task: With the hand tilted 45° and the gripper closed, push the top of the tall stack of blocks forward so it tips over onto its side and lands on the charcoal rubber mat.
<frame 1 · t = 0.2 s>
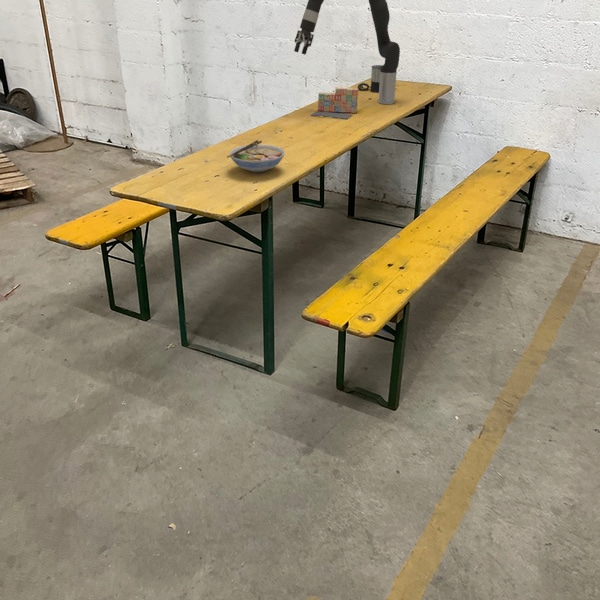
hand: (299, 53, 324), 31 cm above the table, tool tilted 20°, fingers open, 8 cm apart
charcoal rubber mat: (331, 115, 335), on the table
stack of blocks: (337, 111, 343), on the table, touching charcoal rubber mat
milk frother: (371, 91, 391), on the table
ramen bowl: (257, 170, 258), on the table
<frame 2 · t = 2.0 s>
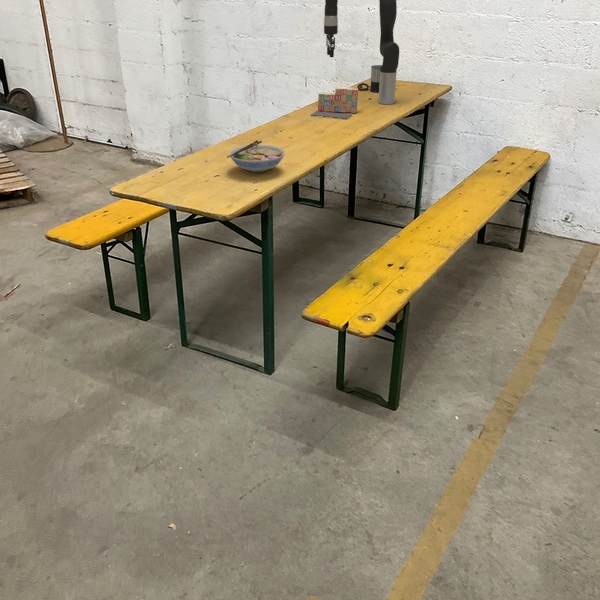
hand: (330, 56, 347), 26 cm above the table, tool pointing down, fingers open, 8 cm apart
nothing on the table moved.
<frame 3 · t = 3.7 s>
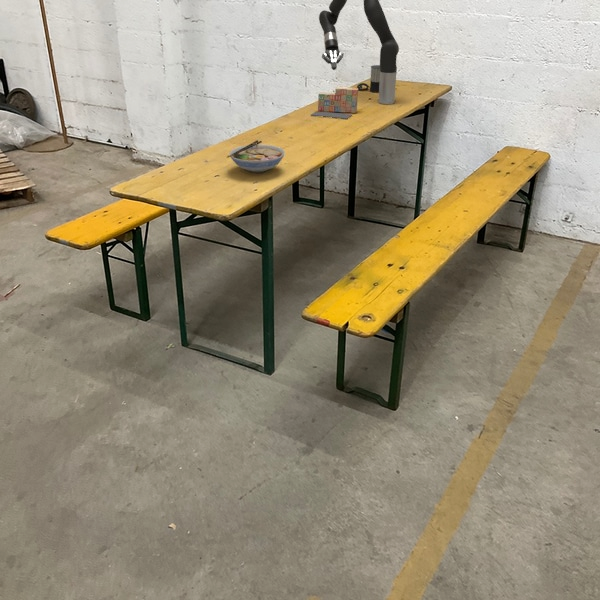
hand: (334, 69, 351), 19 cm above the table, tool tilted 45°, fingers closed
nothing on the table moved.
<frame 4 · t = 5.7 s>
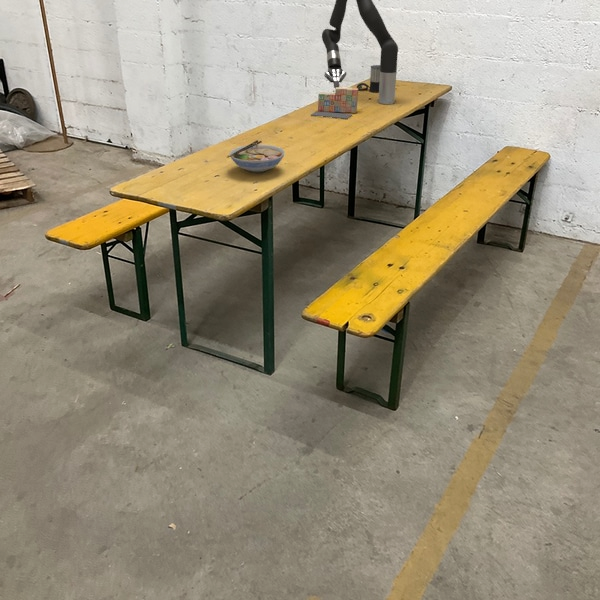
hand: (336, 88, 347), 11 cm above the table, tool tilted 45°, fingers closed
nothing on the table moved.
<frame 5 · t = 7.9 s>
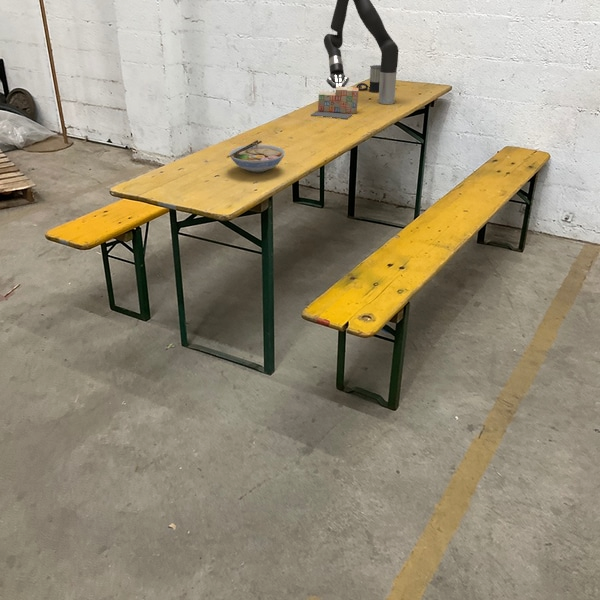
hand: (339, 94, 341), 9 cm above the table, tool tilted 45°, fingers closed
stack of blocks: (337, 111, 343), on the table, touching charcoal rubber mat, gripper
everything else where it was.
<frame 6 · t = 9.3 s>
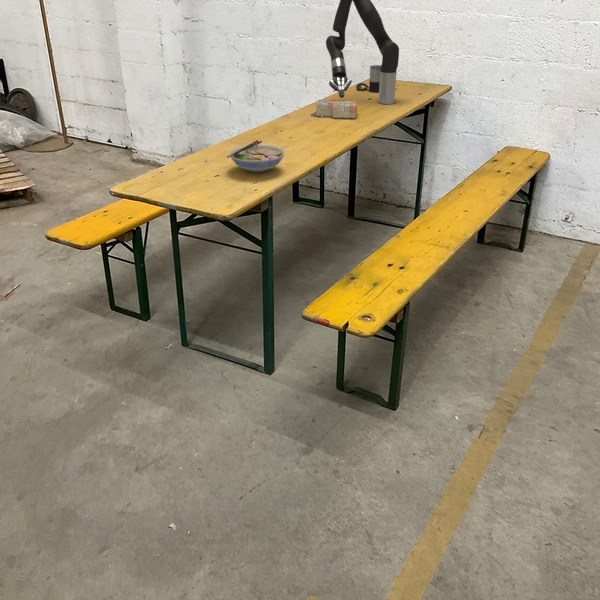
hand: (342, 96, 335), 9 cm above the table, tool tilted 45°, fingers closed
stack of blocks: (337, 106, 338), point 4 cm above the table, touching charcoal rubber mat
everything else where it was.
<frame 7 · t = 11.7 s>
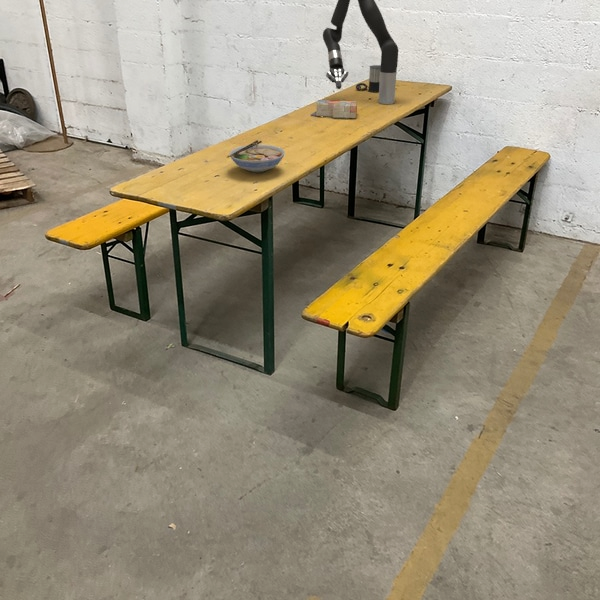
hand: (339, 88, 342), 12 cm above the table, tool tilted 45°, fingers closed
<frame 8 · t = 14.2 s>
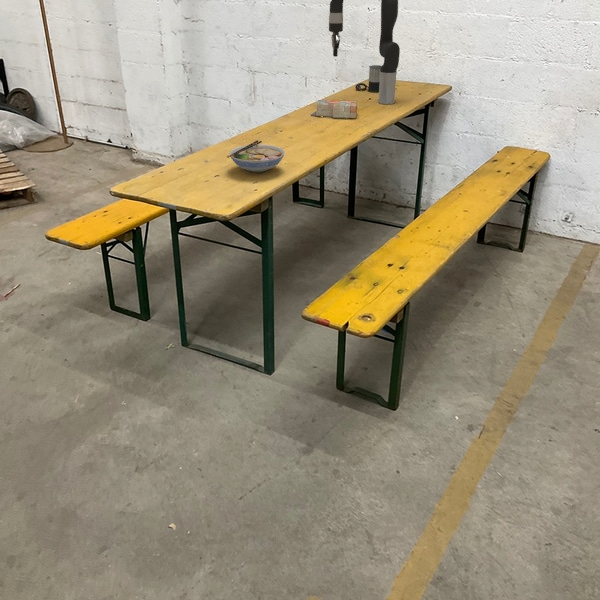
hand: (335, 56, 340), 27 cm above the table, tool pointing down, fingers closed
at the end: stack of blocks tilted 90°; stack of blocks touching charcoal rubber mat; stack of blocks inside the target area (2.0 cm from its centre), point 3.7 cm above the table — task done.
